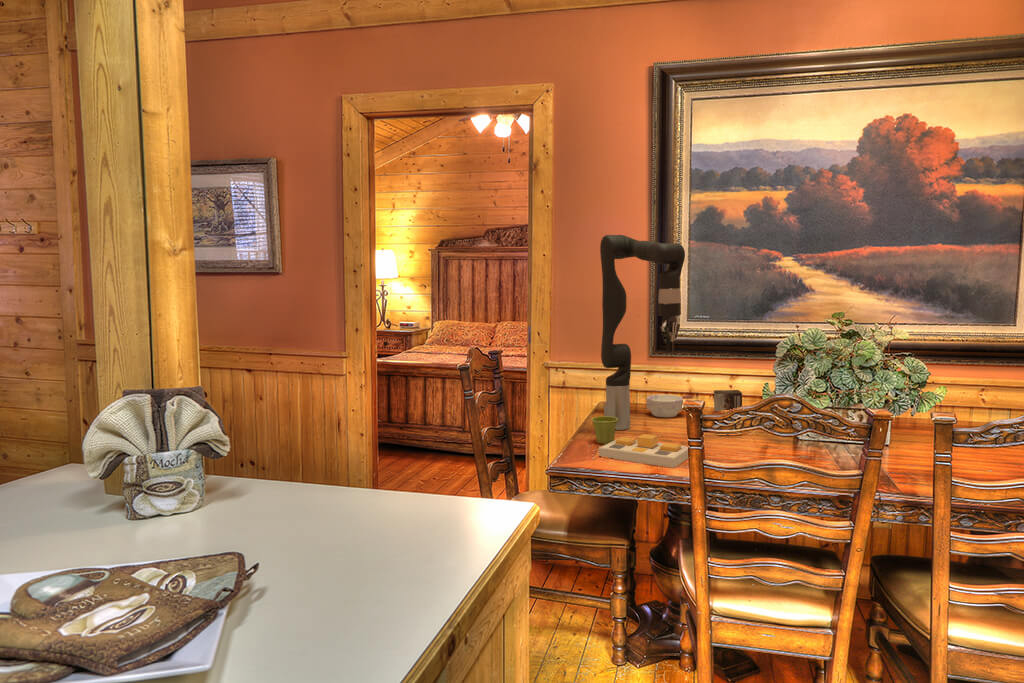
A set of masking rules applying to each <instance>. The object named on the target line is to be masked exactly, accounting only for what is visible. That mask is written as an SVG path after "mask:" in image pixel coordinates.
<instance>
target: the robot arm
mask: <svg viewBox="0 0 1024 683" xmlns="http://www.w3.org/2000/svg"><path fill="white" fill-rule="evenodd" d="M599 251H600V255H599V256H600V262H601V263H600V264H601V277H602V300H601V301H602V303H601V304H602V308H601V309H602V333H601V334H602V335H601V347H600V348H601V349H600V359H601V363H602V365H603V367H604V368H606V369H616V368H617V370H616V371H614V373H612V374H611V375H608V376H607V377H606V378H605V398H606V399H605V403H604V404H603V405H604V408H603V410H604V412H603V413H604V414H603V415H604V416H608V417H615V418H617V419H618V421H617V423H616V426H615V429H616V430H615V431H623V430H624V431H625V429H626V430H629V429H631V398H630V397H631V395H630V394H631V392H630V391H631V390H630V388H631V384H630V381H631V372H632V371H631V369H632V367H631V366H632V351H631V348H630V346H629V345H628V344H627V343H614V337H615V333H616V331H617V329H618V327H619V325H620V324H621V322H622V320H623V319H624V316H625V314H626V312H627V291H626V289H625V287H624V284H622V281H621V280H620V279H619V276H618V274H617V270H616V265H615V264H616V263H615V262H616V260H623V259H627V258H637V259H639V260H641V261H645V262H646V261H647V262H653V263H655V264H656V265H657V264H658V265H668V267H667V270H664V271H662V272H660V273H659V274H658V275H659V276H658V288H659V289H658V295H657V296H658V298H657V300H658V303H657V305H658V316H659V317H662V323H661V324H662V325H661V326H660V325H659V331H660V335H661V338H662V340H663V341H665V352H667V353H673V352H675V346H674V345H675V341H676V340H677V338H678V336H679V335H678V334H679V331H680V326H681V324H680V323H678V319H677V317H680V316H681V314H682V294H681V274H682V271H683V266H684V262H685V259H686V252H685V249H684V245H682V244H680V243H676V242H675V243H674V242H671V243H662V242H658V241H650V240H637V239H635V238H632V237H629V236H627V235H623V234H607V235H604V236H603V237H602V238H601V240H600V246H599Z"/></svg>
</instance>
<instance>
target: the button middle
mask: <svg viewBox="0 0 1024 683" xmlns="http://www.w3.org/2000/svg"><path fill="white" fill-rule="evenodd" d="M658 439H659V438H658V435H655V434H647V433H643V434H641V435H638V436H637V439H636V440H637V444H638V446H642V447H649V448H652V447H654V446H656V445H658V443H659V440H658Z"/></svg>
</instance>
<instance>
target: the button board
mask: <svg viewBox="0 0 1024 683" xmlns="http://www.w3.org/2000/svg"><path fill="white" fill-rule="evenodd" d="M617 439H618V438H617ZM617 439H614V441H612V442H610V443H608V444H603V445H602V446H600V447H598V457H599V456H603V457H608V458H607V459H610V458H613V459H612V460H617V459H618V460H619V461H623V462H624V461H625V462H631V463H637V464H638V463H639V464H643V465H644V464H645V465H652V466H656V467H657V466H658V467H659V466H660V467H665V468H672V469H675V468H676V467H677V466H679V465H681V464H683V462H685V461H686V460H688V459H689V458H688V447H687V445H681V450H679V451H677V452H670V451H663V450H660V446H661V445H663V444H665V443H666V442H665V443H664V442H658V445H656V446H654V447H652V448H649V447H642V446H638V444H637V439H636V443H635V444H633V445H631V446H625V445H618V444H616V440H617ZM603 457H602V458H603ZM618 460H617V461H618Z"/></svg>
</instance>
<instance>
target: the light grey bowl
mask: <svg viewBox="0 0 1024 683" xmlns="http://www.w3.org/2000/svg"><path fill="white" fill-rule="evenodd" d="M645 399H646V409H647V410H648V411H650V413H651V415H652V416H654V417H657V418H662V417H663V418H667V419H669V418H674V417H677V416H678V415H679V412H680V411H683V409H682V405H683V406H684V398H683V397H682V396H679V395H674V394H665V393H664V394H661V393H659V394H652V395H651V394H650V395H647V397H646V398H645ZM663 418H662V419H663Z"/></svg>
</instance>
